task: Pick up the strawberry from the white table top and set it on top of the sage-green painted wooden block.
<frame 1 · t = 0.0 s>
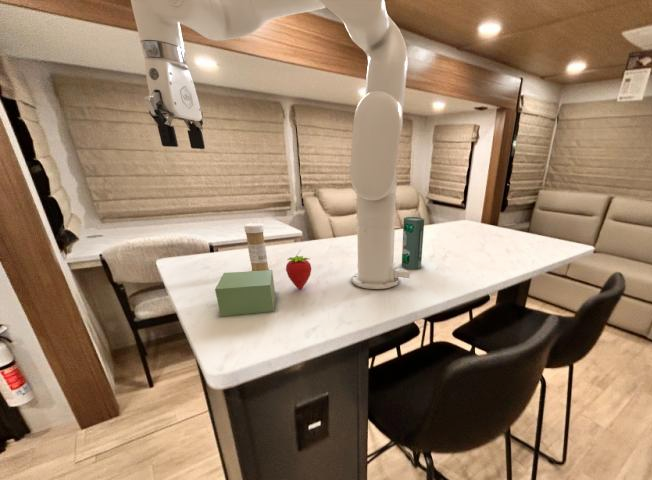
hand: (185, 147, 72), 31 cm above the table, tool pointing down, fingers open, 9 cm apart
green block: (250, 304, 68), on the table
sprinkles bottle: (260, 273, 88), on the table
strawberry: (300, 289, 77), on the table
can: (411, 267, 98), on the table
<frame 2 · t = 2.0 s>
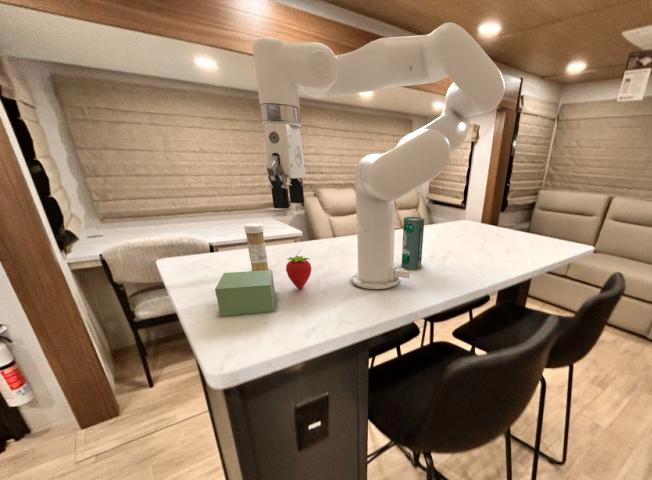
hand: (290, 205, 69), 20 cm above the table, tool pointing down, fingers open, 9 cm apart
nothing on the table moved.
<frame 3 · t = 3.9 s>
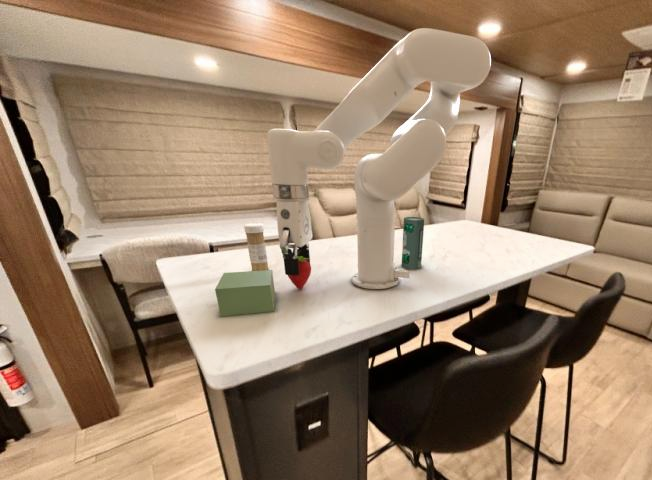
hand: (298, 268, 75), 5 cm above the table, tool pointing down, fingers closed on strawberry, 7 cm apart
strawberry: (300, 289, 77), on the table, touching gripper
everything else where it was.
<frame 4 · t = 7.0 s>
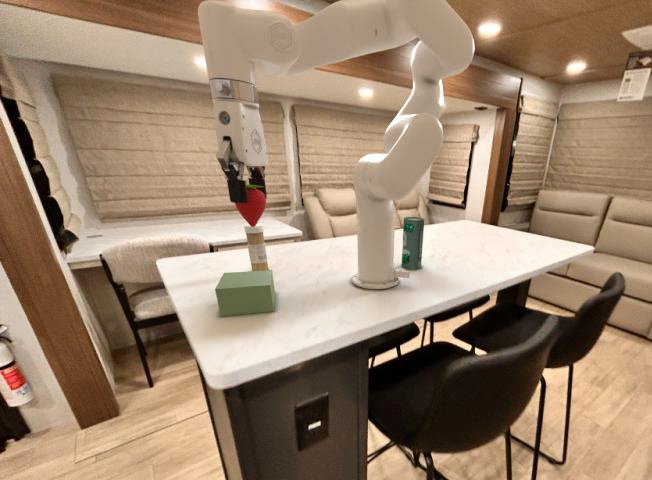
hand: (249, 199, 62), 22 cm above the table, tool pointing down, fingers closed on strawberry, 7 cm apart
strawberry: (254, 227, 64), point 16 cm above the table, touching gripper
everything else where it was.
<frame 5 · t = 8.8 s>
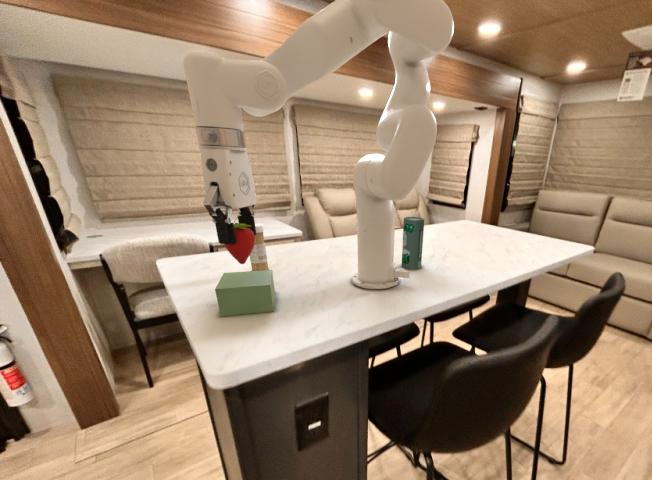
hand: (238, 238, 62), 15 cm above the table, tool pointing down, fingers closed on strawberry, 7 cm apart
strawberry: (243, 264, 65), point 9 cm above the table, touching gripper
everything else where it was.
when the fingers open (11 cm above the table, at t = 10.3 s): strawberry stays where it is, resting on green block.
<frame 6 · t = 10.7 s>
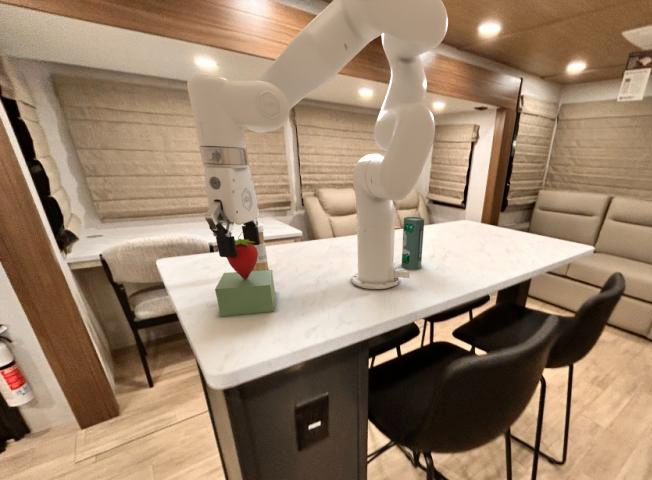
hand: (241, 250, 63), 12 cm above the table, tool pointing down, fingers open, 9 cm apart
strawberry: (246, 279, 66), point 6 cm above the table, touching green block
everything else where it was.
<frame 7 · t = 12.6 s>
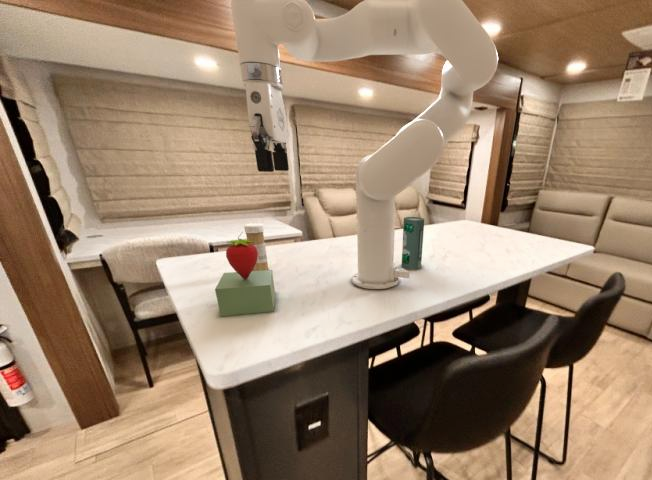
hand: (274, 171, 69), 27 cm above the table, tool pointing down, fingers open, 9 cm apart
nothing on the table moved.
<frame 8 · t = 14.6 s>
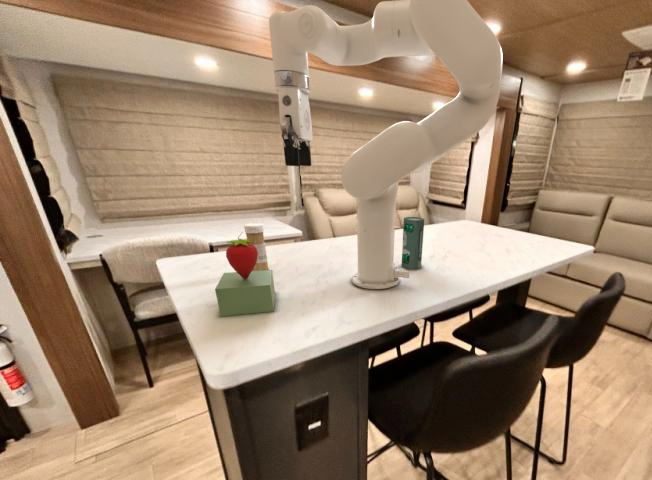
hand: (299, 165, 78), 28 cm above the table, tool pointing down, fingers open, 9 cm apart
nothing on the table moved.
at the end: strawberry inside the target area on the green block (0.1 cm from its centre), point 5.8 cm above the green block's base; the gripper is holding nothing; strawberry tilted 0° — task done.
